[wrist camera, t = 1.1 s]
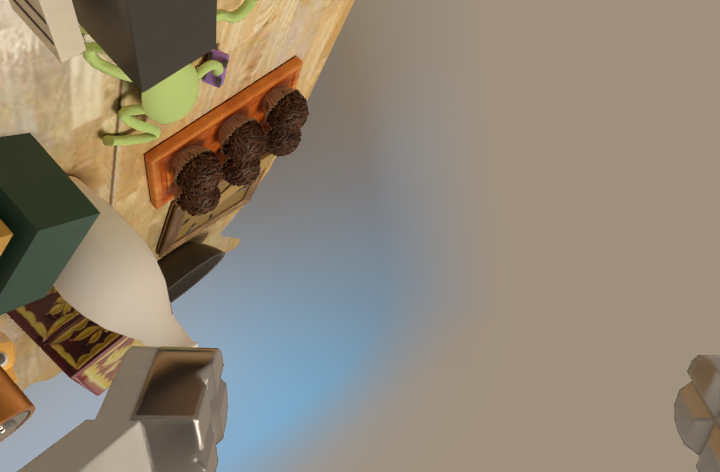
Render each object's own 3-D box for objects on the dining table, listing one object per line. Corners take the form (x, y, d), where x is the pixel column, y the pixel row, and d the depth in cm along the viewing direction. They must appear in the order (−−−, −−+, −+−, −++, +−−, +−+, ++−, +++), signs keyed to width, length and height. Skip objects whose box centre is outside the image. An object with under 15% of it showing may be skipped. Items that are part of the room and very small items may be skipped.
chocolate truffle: (150, 202, 101) (184, 241, 100) (143, 153, 86) (184, 199, 85) (281, 111, 112) (313, 145, 111) (296, 55, 97) (333, 94, 96)
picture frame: (270, 144, 122) (171, 201, 107) (276, 151, 121) (178, 209, 107) (244, 195, 136) (154, 252, 122) (250, 201, 136) (160, 258, 121)
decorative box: (-7, 300, 87) (63, 382, 86) (109, 219, 94) (175, 294, 93) (40, 337, 112) (95, 401, 111) (129, 271, 120) (181, 330, 118)
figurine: (234, -84, 61) (273, -43, 60) (219, 78, 85) (247, 108, 84) (62, 0, 53) (105, 47, 52) (100, 152, 77) (130, 185, 76)
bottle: (101, 164, 79) (235, 315, 77) (55, 224, 83) (182, 370, 81) (30, 169, 69) (184, 344, 66) (-18, 238, 73) (125, 406, 70)
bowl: (116, 287, 122) (137, 311, 121) (207, 222, 131) (227, 244, 131) (120, 304, 132) (139, 327, 132) (204, 243, 142) (222, 263, 141)
